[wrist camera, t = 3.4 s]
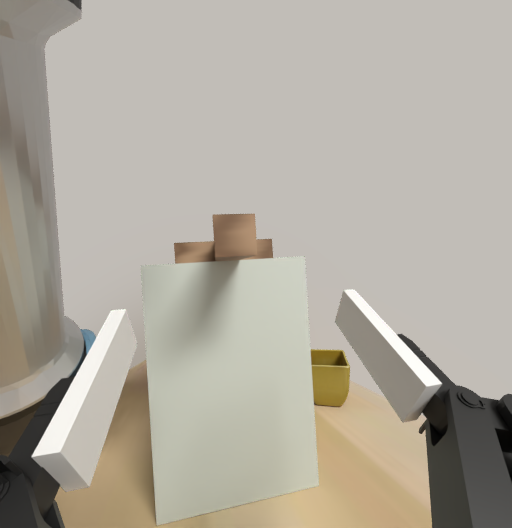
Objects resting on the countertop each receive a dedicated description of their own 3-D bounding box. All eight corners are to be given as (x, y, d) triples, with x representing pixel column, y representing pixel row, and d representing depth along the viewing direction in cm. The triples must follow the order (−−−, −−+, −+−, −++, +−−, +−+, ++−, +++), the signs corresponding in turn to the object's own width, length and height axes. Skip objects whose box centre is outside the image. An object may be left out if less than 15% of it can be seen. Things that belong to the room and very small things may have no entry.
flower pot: (306, 386, 54) (304, 348, 54) (346, 389, 52) (343, 349, 52) (306, 410, 45) (303, 365, 45) (353, 414, 43) (350, 367, 43)
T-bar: (130, 262, 15) (127, 216, 15) (179, 264, 36) (178, 245, 36) (327, 251, 17) (325, 212, 17) (267, 259, 38) (265, 241, 38)
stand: (156, 525, 26) (140, 265, 26) (172, 455, 36) (161, 265, 36) (318, 485, 30) (304, 256, 30) (293, 431, 40) (282, 258, 40)
